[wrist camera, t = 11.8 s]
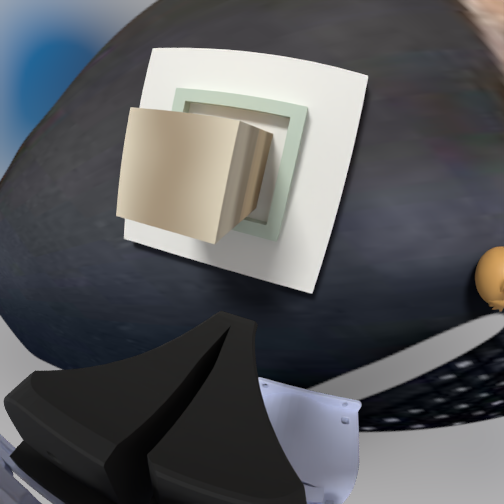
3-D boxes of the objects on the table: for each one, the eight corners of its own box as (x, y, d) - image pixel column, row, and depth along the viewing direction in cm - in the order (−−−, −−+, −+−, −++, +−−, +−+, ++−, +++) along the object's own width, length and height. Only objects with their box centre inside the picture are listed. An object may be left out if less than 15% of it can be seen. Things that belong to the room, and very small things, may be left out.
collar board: (365, 79, 15) (370, 72, 13) (312, 287, 20) (311, 299, 18) (159, 51, 17) (146, 45, 15) (131, 234, 22) (117, 241, 20)
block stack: (273, 133, 17) (239, 120, 10) (256, 208, 18) (214, 244, 11) (200, 120, 17) (130, 107, 10) (187, 191, 19) (116, 215, 12)
